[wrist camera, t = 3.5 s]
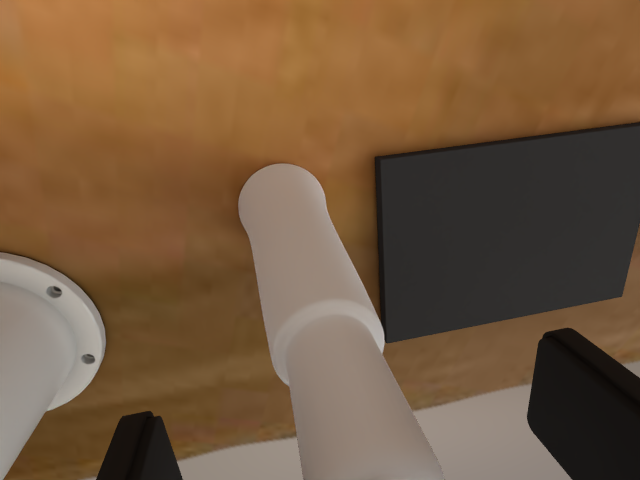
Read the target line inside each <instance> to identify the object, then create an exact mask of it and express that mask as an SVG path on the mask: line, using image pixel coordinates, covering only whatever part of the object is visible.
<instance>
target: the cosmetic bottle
mask: <svg viewBox="0 0 640 480" xmlns="http://www.w3.org/2000/svg"><path fill="white" fill-rule="evenodd" d="M238 211H239V217H240V220H241V223H242V225H243V227H244V228H245V230H246V232H247V234H248V236H249V240H250V243H251V248H252V252H253V258H254V264H255V270H256V276H257V283H258V289H259V295H260V301H261V307H262V313H263V319H264V324H265V329H266V334H267V339H268V345H269V350H270V354H271V359H272V363H273V366H274V369H275V371H276V373H277V374H278V376H279V377H280V379H281V380H282V381H283V382H284V383H285V384H287V385H288V386H289V387H290V394H291V400H292V407H293V414H294V420H295V427H296V433H297V440H298V447H299V453H300V460H301V467H302V474H303V480H445V479H444V475H443V472H442V469H441V466H440V464H439V462H438V460H437V458H436V456H435V454H434V452H433V450H432V448H431V446H430V444H429V442H428V441H427V439H426V437H425V435H424V433H423V431H422V429H421V427H420V426H419V423H418V421H417V419H416V418H415V416H414V414H413V412H412V410H411V408H410V406H409V404H408V402H407V400H406V398H405V397H404V395H403V393H402V391H401V389H400V387H399V385H398V383H397V381H396V379H395V378H394V376H393V374H392V372H391V370H390V368H389V366H388V364H387V362H386V360H385V358H384V357H383V355H382V353H383V349H384V331H383V327H382V325H381V322H380V320H379V318H378V316H377V313H376V311H375V309H374V307H373V305H372V303H371V301H370V298H369V296H368V294H367V292H366V290H365V288H364V286H363V284H362V282H361V280H360V278H359V276H358V274H357V272H356V269H355V267H354V266H353V264H352V262H351V260H350V258H349V256H348V254H347V252H346V250H345V248H344V246H343V244H342V242H341V240H340V238H339V236H338V234H337V232H336V230H335V228H334V226H333V224H332V222H331V219H330V217H329V214H328V211H327V208H326V199H325V195H324V191H323V189H322V187H321V185H320V183H319V182H318V180H317V179H316V178H315V177H314V176H313V175H312V174H311V173H310V172H308V171H307V170H305V169H303V168H301V167H299V166H296V165H292V164H283V163H282V164H273V165H270V166H266V167H264V168H262V169H260V170H259V171H257V172H256V173H254V174H253V175H252V176H251V177H250V178H249V179H248V180H247V182H246V183H245V185H244V186H243V188H242V190H241V193H240V196H239V202H238Z"/></svg>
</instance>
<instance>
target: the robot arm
mask: <svg viewBox="0 0 640 480" xmlns="http://www.w3.org/2000/svg"><path fill="white" fill-rule="evenodd" d="M105 346H106V337H105V328H104V325H103V322H102V319H101V316H100V314H99V312H98V310H97V309H96V307H95V305H94V304H93V302H92V300H91V299H90V298H89V297H88V296H87V295H86V294H85V293H84V291H83V290H82V289H81V288H80V287H79V286H78V285H76V284H75V283H74V282H73V281H71V280H70V279H69V278H67V277H66V276H65V275H63V274H61V273H60V272H58V271H56V270H54V269H53V268H51V267H49V266H47V265H45V264H42V263H39V262H37V261H34V260H32V259H29V258H26V257H22V256H17V255H13V254H8V253H2V252H0V480H3V479H4V477H5V476H6V474H7V472H8V471H9V469H10V468H11V466H12V464H13V463H14V461H15V460H16V458H17V456H18V455H19V453H20V452H21V450H22V448H23V447H24V445H25V444H26V442H27V440H28V439H29V437H30V436H31V434H32V432H33V431H34V429H35V428H36V426H37V424H38V423H39V421H40V420H41V418H42V416H43V415H44V413H45V412H46V411H49V410H52V409H54V408H57V407H59V406H61V405H63V404H65V403H67V402H69V401H70V400H72V399H73V398H74V397H76V396H77V395H79V394H80V393H81V392H82V391H83V390H84V389H85V388H86V387H87V386H88V385H89V384H90V382H91V381H92V379H93V377H94V376H95V374H96V372H97V371H98V369H99V367H100V364H101V362H102V360H103V357H104V353H105ZM527 420H528V424H529V426H530V428H531V430H532V431H533V433H534V434H535V435H536V436H537V438H538V439H539V440H540V441H541V442H542V444H543V445H544V446H545V447H546V448H547V449H548V451H549V452H550V453H551V455H552V456H553V457H554V458H555V459H556V460H557V462H558V463H559V464H560V465H561V466H562V468H563V469H564V470H565V471H566V473H567V474H568V475H569V476H570V477H571V479H572V480H640V378H639V377H638V376H636V375H635V374H633V373H632V372H631V371H629V370H628V369H626V368H625V367H624V366H623V365H621V364H620V363H619V362H617V361H616V360H615V359H613V358H612V357H610V356H609V355H608V354H606V353H605V352H604V351H602V350H601V349H600V348H598V347H597V346H596V345H594V344H593V343H592V342H590V341H589V340H587V339H586V338H585V337H583V336H582V335H581V334H579V333H578V332H577V331H575V330H573V329H572V328H564V329H559V330H554V331H549V332H546V333H545V334H544V335H543V338H542V339H541V340H540V341H539V343H538V349H537V355H536V362H535V368H534V374H533V381H532V388H531V394H530V400H529V407H528V414H527ZM96 480H183V479H182V476H181V473H180V470H179V467H178V464H177V461H176V458H175V455H174V452H173V449H172V446H171V443H170V440H169V438H168V435H167V432H166V429H165V426H164V423H163V420H162V418H161V417H160V416H156V417H154V416H153V413H152V412H151V411H146V412H141V413H136V414H131V415H126V416H123V417H122V418H121V419H120V421H119V423H118V425H117V428H116V430H115V433H114V435H113V438H112V441H111V443H110V446H109V448H108V451H107V453H106V456H105V458H104V461H103V463H102V466H101V468H100V471H99V474H98V476H97V479H96Z"/></svg>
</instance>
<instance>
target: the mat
mask: <svg viewBox="0 0 640 480" xmlns="http://www.w3.org/2000/svg"><path fill="white" fill-rule="evenodd" d="M375 172H376V197H377V223H378V249H379V275H380V300H381V325H382V327H383V331H384V340H385V342H386V343H392V342H397V341H402V340H407V339H412V338H417V337H422V336H427V335H432V334H437V333H442V332H447V331H452V330H457V329H462V328H467V327H472V326H477V325H482V324H487V323H492V322H497V321H502V320H507V319H512V318H517V317H522V316H527V315H532V314H537V313H542V312H547V311H552V310H557V309H562V308H567V307H572V306H577V305H582V304H587V303H592V302H597V301H602V300H607V299H612V298H617V297H622V294H623V290H624V286H625V282H626V277H627V273H628V269H629V265H630V261H631V257H632V252H633V248H634V244H635V240H636V236H637V232H638V227H639V223H640V122H639V123H631V124H623V125H616V126H608V127H600V128H593V129H585V130H577V131H570V132H562V133H554V134H547V135H539V136H531V137H524V138H516V139H508V140H501V141H493V142H485V143H478V144H470V145H462V146H455V147H447V148H440V149H432V150H424V151H417V152H409V153H401V154H394V155H386V156H378V157H375Z"/></svg>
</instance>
